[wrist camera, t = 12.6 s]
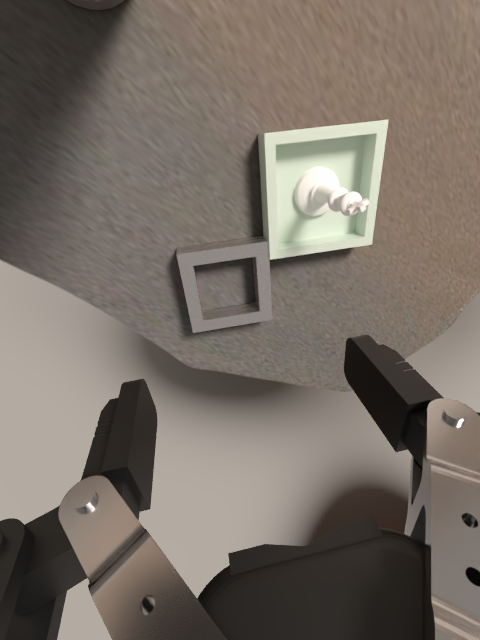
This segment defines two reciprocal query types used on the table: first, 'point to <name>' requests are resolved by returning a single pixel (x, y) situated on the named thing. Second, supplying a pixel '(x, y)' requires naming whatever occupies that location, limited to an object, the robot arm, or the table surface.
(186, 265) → the collar block
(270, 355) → the table surface
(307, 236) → the tray
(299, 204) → the chess piece
